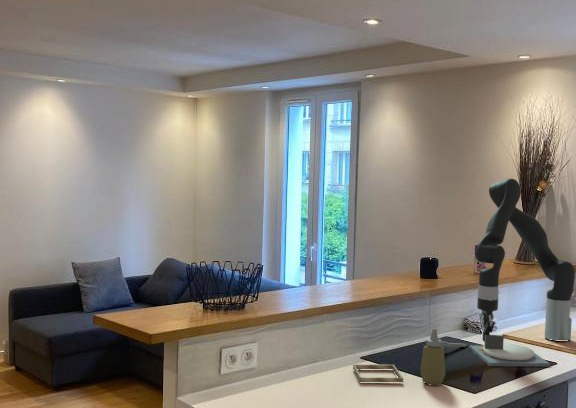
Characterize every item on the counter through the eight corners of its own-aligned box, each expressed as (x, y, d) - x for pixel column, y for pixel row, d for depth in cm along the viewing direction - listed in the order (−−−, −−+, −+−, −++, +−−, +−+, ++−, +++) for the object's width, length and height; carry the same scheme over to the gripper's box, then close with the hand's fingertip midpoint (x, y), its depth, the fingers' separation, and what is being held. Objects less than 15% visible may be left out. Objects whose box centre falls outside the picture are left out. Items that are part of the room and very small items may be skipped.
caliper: (436, 356, 247) (436, 339, 246) (433, 355, 248) (434, 338, 247) (467, 347, 260) (468, 331, 260) (465, 346, 261) (466, 330, 260)
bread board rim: (393, 370, 227) (393, 364, 227) (403, 384, 213) (403, 378, 213) (352, 370, 226) (353, 364, 226) (359, 383, 212) (359, 377, 212)
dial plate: (524, 349, 258) (524, 345, 258) (549, 366, 236) (549, 362, 236) (469, 348, 257) (469, 345, 257) (489, 366, 235) (489, 362, 235)
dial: (526, 348, 254) (527, 331, 254) (539, 361, 237) (540, 344, 236) (475, 345, 257) (476, 328, 256) (483, 358, 239) (484, 341, 238)
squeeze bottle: (414, 380, 217) (417, 326, 216) (435, 378, 220) (438, 325, 219) (428, 388, 209) (430, 332, 208) (450, 386, 212) (452, 331, 211)
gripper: (473, 292, 256) (471, 336, 257) (482, 300, 242) (480, 346, 244) (493, 293, 255) (490, 336, 257) (503, 301, 242) (500, 347, 244)
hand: (485, 341), depth 251 cm, fingers closed
